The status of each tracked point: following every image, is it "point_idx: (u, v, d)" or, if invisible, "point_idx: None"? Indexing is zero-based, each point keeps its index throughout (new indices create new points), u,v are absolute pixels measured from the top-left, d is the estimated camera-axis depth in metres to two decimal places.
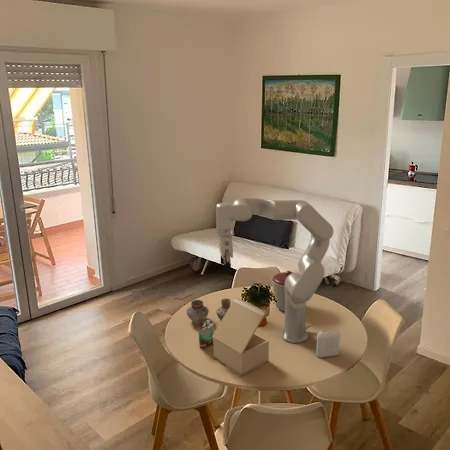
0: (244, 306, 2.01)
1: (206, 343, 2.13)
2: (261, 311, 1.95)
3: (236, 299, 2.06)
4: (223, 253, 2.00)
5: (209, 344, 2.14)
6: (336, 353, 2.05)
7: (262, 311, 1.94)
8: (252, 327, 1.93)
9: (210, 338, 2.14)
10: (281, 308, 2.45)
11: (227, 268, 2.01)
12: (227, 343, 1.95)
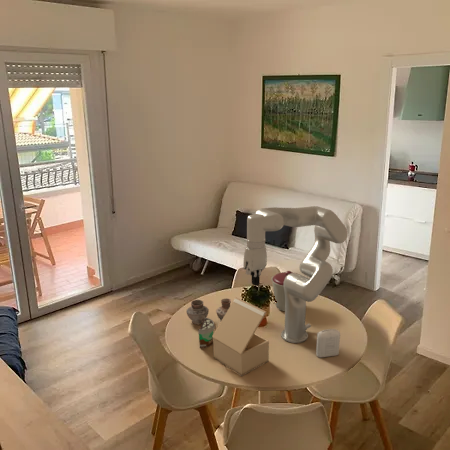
0: (244, 306, 2.01)
1: (206, 343, 2.13)
2: (261, 311, 1.95)
3: (236, 299, 2.06)
4: None
5: (209, 344, 2.14)
6: (336, 353, 2.05)
7: (262, 311, 1.94)
8: (252, 327, 1.93)
9: (210, 338, 2.14)
10: (281, 308, 2.45)
11: None
12: (227, 343, 1.95)
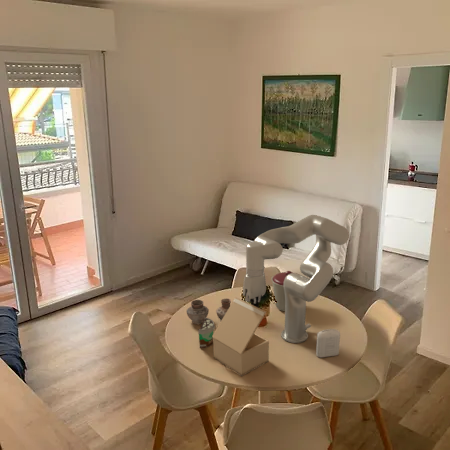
0: (244, 306, 2.01)
1: (206, 343, 2.13)
2: (261, 311, 1.95)
3: (236, 299, 2.06)
4: None
5: (209, 344, 2.14)
6: (336, 353, 2.05)
7: (262, 311, 1.94)
8: (252, 327, 1.93)
9: (210, 338, 2.14)
10: (281, 308, 2.45)
11: None
12: (227, 343, 1.95)
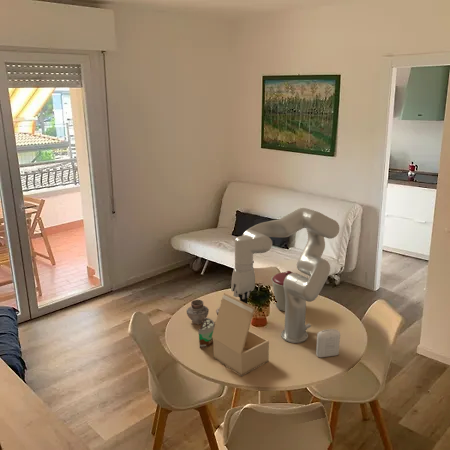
0: (233, 303, 1.96)
1: (206, 343, 2.13)
2: (249, 307, 1.89)
3: (225, 295, 2.00)
4: None
5: (209, 344, 2.14)
6: (336, 353, 2.05)
7: (251, 307, 1.89)
8: (245, 326, 1.90)
9: (210, 338, 2.14)
10: (281, 308, 2.45)
11: None
12: (226, 344, 1.95)
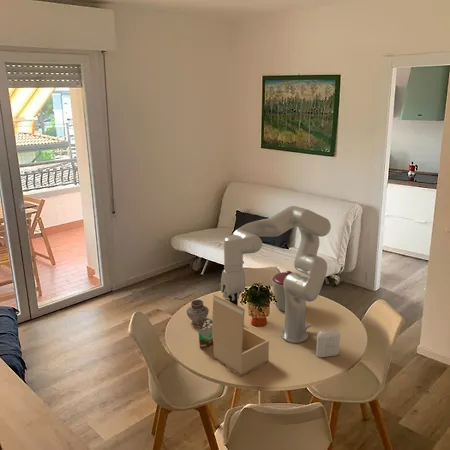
0: (224, 305, 1.93)
1: (206, 343, 2.13)
2: (239, 309, 1.86)
3: (215, 297, 1.97)
4: None
5: (209, 344, 2.14)
6: (336, 353, 2.05)
7: (241, 309, 1.85)
8: (239, 327, 1.87)
9: (210, 338, 2.14)
10: (281, 308, 2.45)
11: None
12: (226, 344, 1.95)
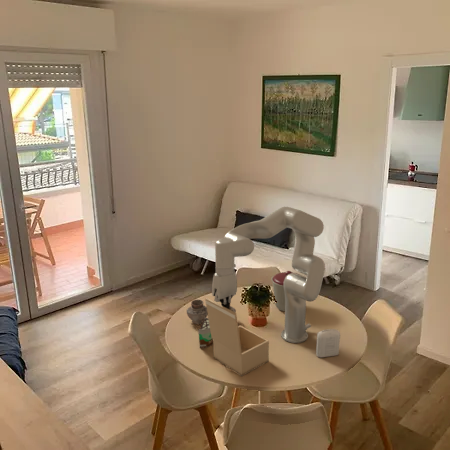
0: (216, 309, 1.90)
1: (206, 343, 2.13)
2: (231, 314, 1.83)
3: (207, 301, 1.94)
4: None
5: (209, 344, 2.14)
6: (336, 353, 2.05)
7: (232, 314, 1.82)
8: (234, 330, 1.86)
9: (210, 338, 2.14)
10: (281, 308, 2.45)
11: None
12: (225, 345, 1.95)
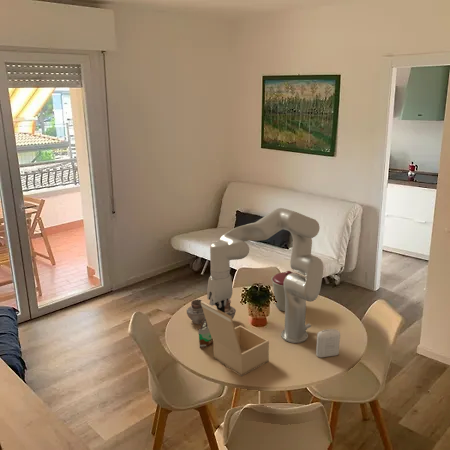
0: (212, 312, 1.89)
1: (206, 343, 2.13)
2: (226, 317, 1.82)
3: (202, 304, 1.93)
4: None
5: (209, 344, 2.14)
6: (336, 353, 2.05)
7: (228, 317, 1.81)
8: (231, 332, 1.85)
9: (210, 338, 2.14)
10: (281, 308, 2.45)
11: None
12: (225, 345, 1.95)
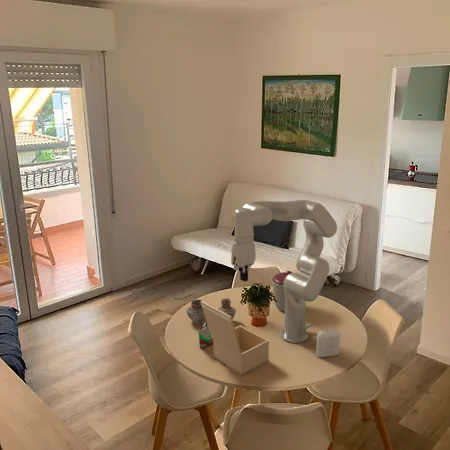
0: (212, 312, 1.89)
1: (206, 343, 2.13)
2: (226, 317, 1.82)
3: (202, 304, 1.93)
4: None
5: (209, 344, 2.14)
6: (336, 353, 2.05)
7: (228, 317, 1.81)
8: (231, 332, 1.85)
9: (210, 338, 2.14)
10: (281, 308, 2.45)
11: None
12: (225, 345, 1.95)
